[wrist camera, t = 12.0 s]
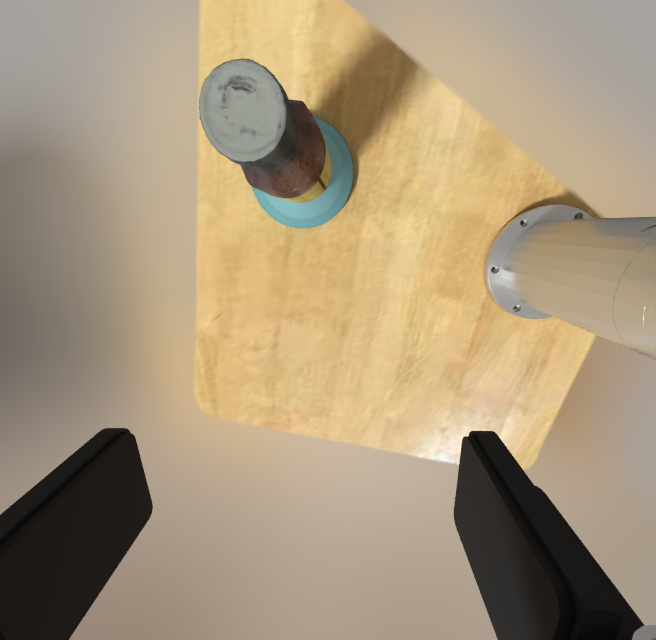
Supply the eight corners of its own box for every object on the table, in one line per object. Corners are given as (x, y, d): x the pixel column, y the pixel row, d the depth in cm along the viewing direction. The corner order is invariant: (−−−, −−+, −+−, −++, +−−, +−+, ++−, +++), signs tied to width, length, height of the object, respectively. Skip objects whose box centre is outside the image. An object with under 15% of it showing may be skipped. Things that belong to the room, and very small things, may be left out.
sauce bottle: (296, 125, 31) (224, -36, 12) (344, 166, 32) (350, 77, 13) (260, 181, 32) (148, 118, 14) (307, 219, 33) (263, 209, 14)
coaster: (348, 110, 31) (348, 107, 30) (356, 223, 34) (356, 222, 33) (243, 124, 32) (241, 121, 31) (260, 232, 35) (258, 233, 34)
